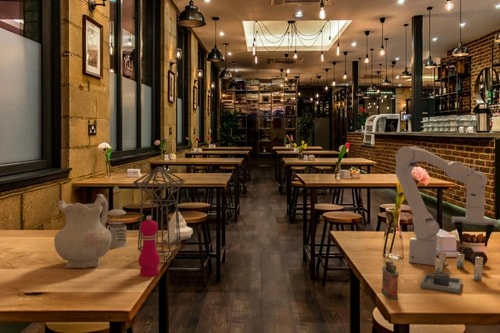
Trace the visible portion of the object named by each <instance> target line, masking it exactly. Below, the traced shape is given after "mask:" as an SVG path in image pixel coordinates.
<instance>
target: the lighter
mask: <svg viewBox="0 0 500 333" xmlns="http://www.w3.org/2000/svg"><path fill="white" fill-rule="evenodd" d="M384 262H385V266H382V267H381V270H382V278H381V279H382V280H381V282H382V284H381V286H382V287H381V293H382V295H383V296H384V297H386V298H387V299H389V300H392V301H396V300H397V301H398V300H399V295H398V289H399V288H398V285H399V284H398V283H399V281H398V280H399V278H398V277H399V272H398V271H397V266H396V264H394V261H390V260H385V261H384Z"/></svg>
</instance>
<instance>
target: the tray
mask: <svg viewBox="0 0 500 333" xmlns="http://www.w3.org/2000/svg"><path fill="white" fill-rule="evenodd" d="M433 282H434V274H430V273H425V274H424V276H423V278H422V280H421V282H420V289H425V290H432V291H433V290H434V291H438V292H444V293H445V292H446V293H450V294H451V293H452V294H458V295H460V292H461V291H460V290H461V287H462V278H460V277H457V278H456V277H451V276H450V278H449V286H448V287H447V286H440V285H434V284H433Z"/></svg>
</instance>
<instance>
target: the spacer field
mask: <svg viewBox="0 0 500 333" xmlns="http://www.w3.org/2000/svg"><path fill="white" fill-rule="evenodd" d="M446 260H447V253H446V252H443V251H441V252H440V251H439V252H438V260H435V265H434V272H435V271H443V268H444V269H445V268H446V264H447V262H446ZM483 267H484V266H483V257H475V265H474V264H473V281H474V280H475V281H474V282H479V281H480V282H482V280H483V272H484V270H483V269H484V268H483ZM456 269H458V270H459V269H460V270H464V269H465V258H464V254H460V253H459V252H458V253H457V254H456Z"/></svg>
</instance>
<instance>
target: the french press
mask: <svg viewBox="0 0 500 333" xmlns="http://www.w3.org/2000/svg"><path fill="white" fill-rule="evenodd" d="M113 190H119V187H118V186H114V187H113ZM126 214H127V212H126V211H125V210H123V209H118V208H117V205H115V209H111V210H108V214H107V216H112V217H113V216H114V217H115V220H112V219H111V217H109V218H107V220H106V222H105V226H104V227H105V228H106V229H108V230H109V231H110V233H111V236H112V240H111V246H110V248H109V249H118V248H125V247H128V246H129V242H127V225H126V221H125V220H118V219H117V216H124V215H126ZM111 220H112V221H111Z"/></svg>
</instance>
